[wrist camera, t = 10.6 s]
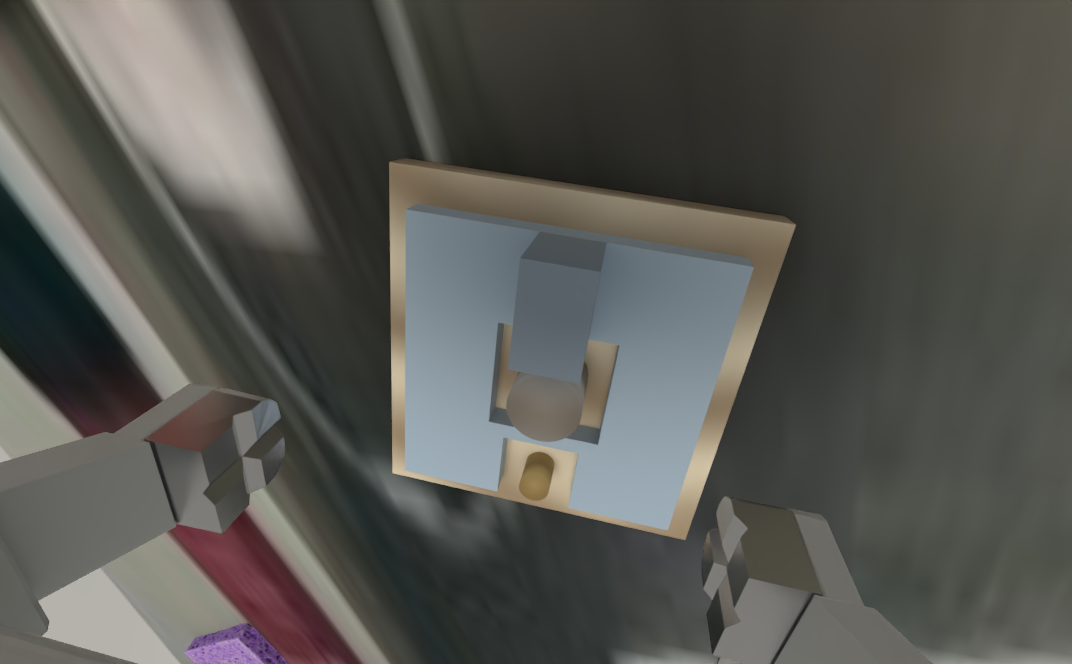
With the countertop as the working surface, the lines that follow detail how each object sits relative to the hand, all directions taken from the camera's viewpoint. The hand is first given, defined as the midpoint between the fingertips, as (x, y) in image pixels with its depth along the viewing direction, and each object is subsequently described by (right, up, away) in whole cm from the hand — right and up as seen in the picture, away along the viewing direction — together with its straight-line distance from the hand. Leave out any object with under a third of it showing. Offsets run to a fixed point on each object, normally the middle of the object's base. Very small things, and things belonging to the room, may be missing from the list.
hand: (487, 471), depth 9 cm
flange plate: (+2, +1, +13) cm, 13 cm away
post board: (+2, +1, +15) cm, 15 cm away
